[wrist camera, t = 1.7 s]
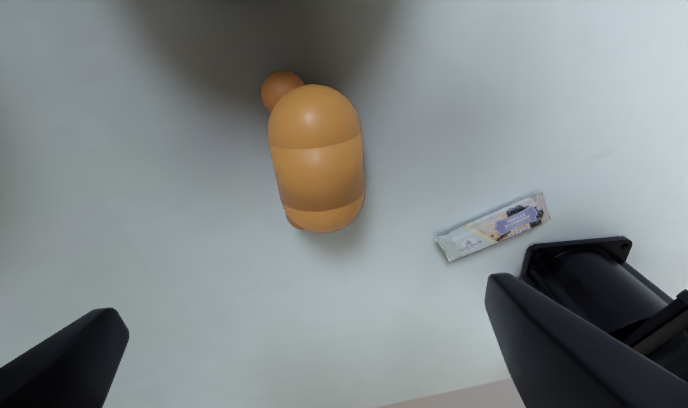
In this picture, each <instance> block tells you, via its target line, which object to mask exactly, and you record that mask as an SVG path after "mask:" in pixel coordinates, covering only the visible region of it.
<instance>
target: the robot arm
mask: <svg viewBox="0 0 688 408" xmlns="http://www.w3.org/2000/svg"><path fill="white" fill-rule="evenodd" d="M631 247H632V241H630V240H629V239H627V238H626V237H623V236H621V237H609V238H598V239H586V240H575V241H563V242H552V243H540V244H534V245H532V246H530V247H529V248H528V250H527V254H526V259H525V263H524V268H523V272H522V275H521V277H520V280H519V279H518V278H516V277H514V276H513V275H511V274H509V273H496V274H491V275H490V276H489V277H488V282H487V288H486V294H485V307H486V311H487V313H488V316H489V319H490V322H491V324H492V327H493V330H494V333H495V335H496V338H497V341H498V344H499V346H500V349H501V352H502V354H503V357H504V360H505V363H506V365H507V368H508V370H509V373H510V375H511V377H512V379H513V381H514V384H515V386H516V388H517V390H518V392H519V394H520V396H521V398H522V400H523V402H524V404H525V406H526V408H688V290H686V289H685V290H684V291H682V292H681V293H679V294H678V295H677V296H676V297H677V298H676V299H675V300H673V299H672V298H670V297H669V296H668V295H667V294H665V293H664V292H663V291H662V290H660V289H659V288H658V287H657V286H655V285H654V284H653V283H651V282H650V281H649V280H648V279H646V278H645V277H644V276H643V275H641V274H640V273H639V272H638V271H636V270H635V269H634V268H633V267H631V266H630V265H629V264H627V263H626V262H625V261H626V259H627V256H628V254H629V251H630V249H631ZM536 251H538V252H536ZM535 252H536V253H535ZM128 340H129V330H128V328H127V327H126V325H125V323H124V322H123V320H122V318H121V317H120V315H119V313H118V312H117V311H116V310H115V309H114V308H100V309H95V310H92V311H90V312H89V313H87V314H86V315H84V316H82V317H81V318H79V319H78V320H76V321H74V322H73V323H71V324H70V325H68V326H66V327H65V328H63V329H62V330H60V331H59V332H57V333H55V334H54V335H52V336H51V337H49V338H47V339H46V340H44V341H43V342H41V343H39V344H38V345H36V346H35V347H33V348H31V349H30V350H28V351H27V352H25V353H23V354H22V355H20V356H19V357H17V358H16V359H14V360H12V361H11V362H9V363H8V364H6V365H4V366H3V367H1V368H0V408H102V407H103V404H104V402H105V400H106V397H107V395H108V392H109V390H110V387H111V384H112V382H113V379H114V377H115V374H116V371H117V369H118V366H119V364H120V361H121V359H122V356H123V353H124V351H125V348H126V346H127V343H128Z"/></svg>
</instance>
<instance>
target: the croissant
mask: <svg viewBox="0 0 688 408" xmlns="http://www.w3.org/2000/svg"><path fill="white" fill-rule="evenodd" d="M261 98H262V102H263V104H264V106H265V108H266V109H267V110H268V112H269V113H271V115H270V118H269V121H268V130H267V134H268V142H269V147H270V152H271V156H272V161H273V166H274V170H275V175H276V180H277V185H278V189H279V194H280V199H281V201H282V204H283V207H284V210H285V212H286V217H287V219H288V221H289V223H290V224H291V225H292V226H294V227H295V228H297V229H301V230H308V231H312V232H316V233H329V232H334V231H337V230H340V229H342V228H343V227H345V226H347V225H348V224H349V223H351V222H352V221H353V220H354V218H355V217H356V216H357V215H358V213H359V212H360V210H361V208H362V206H363V202H364V199H365V176H364V162H363V147H362V132H361V125H360V120H359V117H358V114H357V112H356V110H355V108H354V107H353V105H352V104H351V102H350V101H349V100H348V99H347V98H346V97H345V96H344V95H343V94H341V93H340V92H338V91H337V90H335V89H332V88H330V87H328V86H323V85H318V84H309V85H305V84H304V82H303V81H302V79H301V78H300V77H299V76H297V75H296V74H294V73H292V72H290V71H277V72H274V73H272V74H270V75H269V76H268V77H267V78H266V79H265V81H264V83H263V85H262V88H261Z"/></svg>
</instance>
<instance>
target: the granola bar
mask: <svg viewBox="0 0 688 408" xmlns="http://www.w3.org/2000/svg"><path fill="white" fill-rule="evenodd" d="M548 220H550V216H549V214H548V211H547V208H546V204H545V199H544V196H543V193H540V194H536V195H534V196H533V197H532V198H529V197H527V198H525V199H522V200H520V201H517V202H515V203H513V204H511V205H508V206H506V207H504V208H501V209H499V210H497V211H495V212H492V213H490V214H488V215H486V216H483V217H481V218H479V219H477V220H474V221H472V222H470V223H468V224H465V225H463V226H461V227H459V228H457V229H455V230H452V231H450V232H449V233H448V234H447V235H441V236H438V237H436V240H437V242H438V244H439V246H440V247H441V248H442V249H443V250H444V252H445V255H446V257H447V259H448V260H449V262H451V261H454V260H455V259H457V258H458V257H464V256H467V255H469V254H472V253H474V252H477V251H479V250H481V249H484V248H486V247H489V246H491V245H493V244H496V243H498V242H500V241H503V240H505V239H507V238H510V237H512V236H515V235H517V234H519V233H522V232H524V231H526V230H529V229H531V228H533V227H535V226H538V225H540V224H541V222H547V221H548Z"/></svg>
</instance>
